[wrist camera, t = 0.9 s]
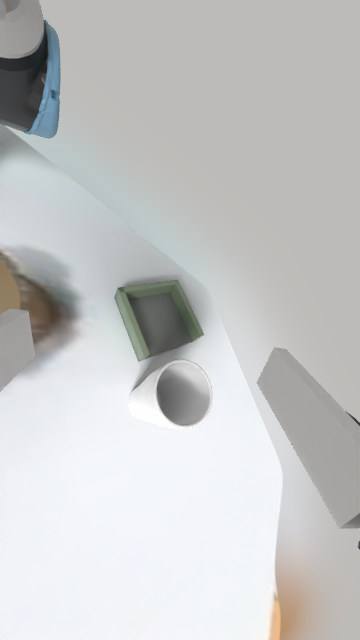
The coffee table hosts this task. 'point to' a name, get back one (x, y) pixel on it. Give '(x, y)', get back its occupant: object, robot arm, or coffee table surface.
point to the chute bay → (157, 317)
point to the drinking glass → (173, 396)
